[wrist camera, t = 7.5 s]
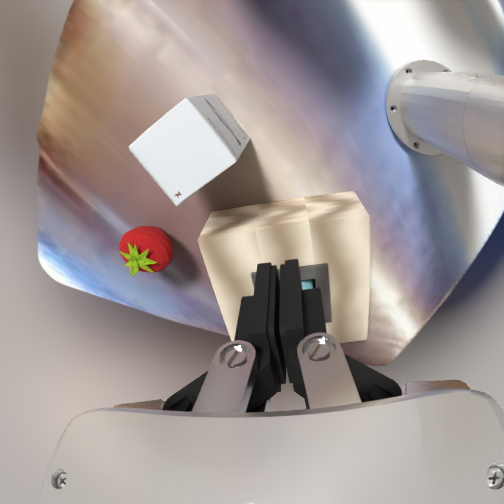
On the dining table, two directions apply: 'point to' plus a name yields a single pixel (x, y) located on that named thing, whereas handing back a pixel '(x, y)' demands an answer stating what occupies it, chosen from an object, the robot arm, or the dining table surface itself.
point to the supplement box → (190, 146)
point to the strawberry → (146, 249)
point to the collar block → (295, 255)
